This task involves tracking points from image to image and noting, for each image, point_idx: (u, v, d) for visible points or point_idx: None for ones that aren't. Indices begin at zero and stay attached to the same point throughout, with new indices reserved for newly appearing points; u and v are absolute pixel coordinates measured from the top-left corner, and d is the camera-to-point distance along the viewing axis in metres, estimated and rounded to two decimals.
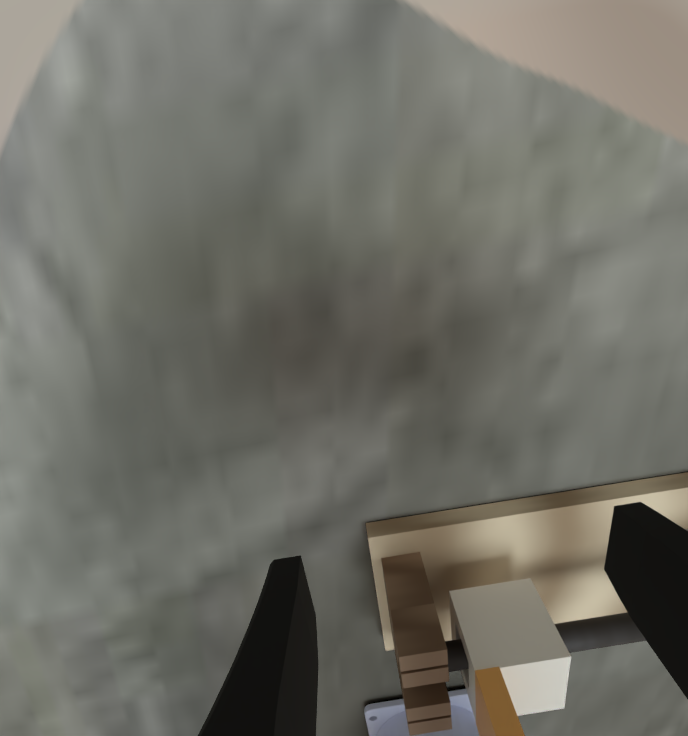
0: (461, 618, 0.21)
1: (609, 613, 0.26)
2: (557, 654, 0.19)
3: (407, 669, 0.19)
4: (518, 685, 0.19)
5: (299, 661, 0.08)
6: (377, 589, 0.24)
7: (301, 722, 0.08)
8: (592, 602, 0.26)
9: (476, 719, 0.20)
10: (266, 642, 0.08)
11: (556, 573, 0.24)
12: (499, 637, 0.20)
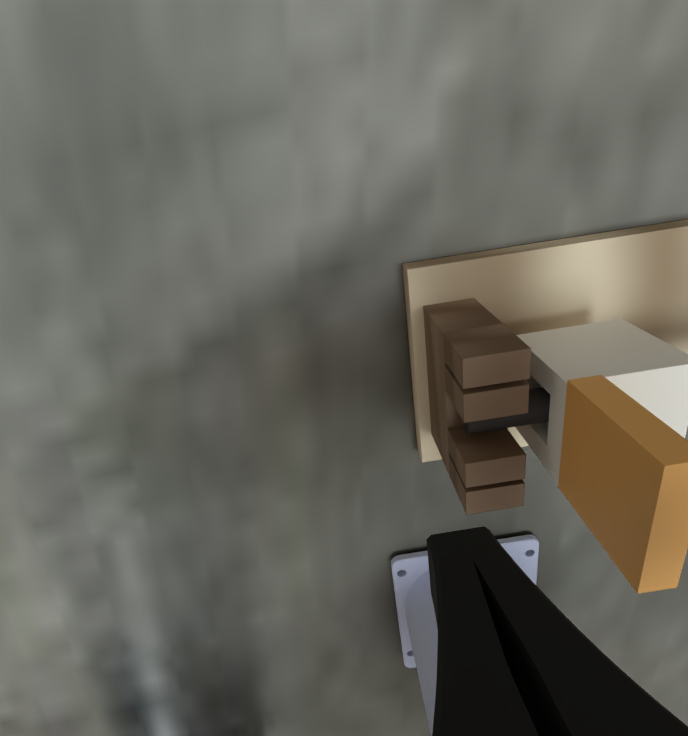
0: (536, 350, 0.15)
1: None
2: (681, 361, 0.13)
3: (472, 385, 0.14)
4: None
5: None
6: (416, 360, 0.19)
7: None
8: None
9: (560, 475, 0.15)
10: (466, 610, 0.08)
11: None
12: (593, 357, 0.14)
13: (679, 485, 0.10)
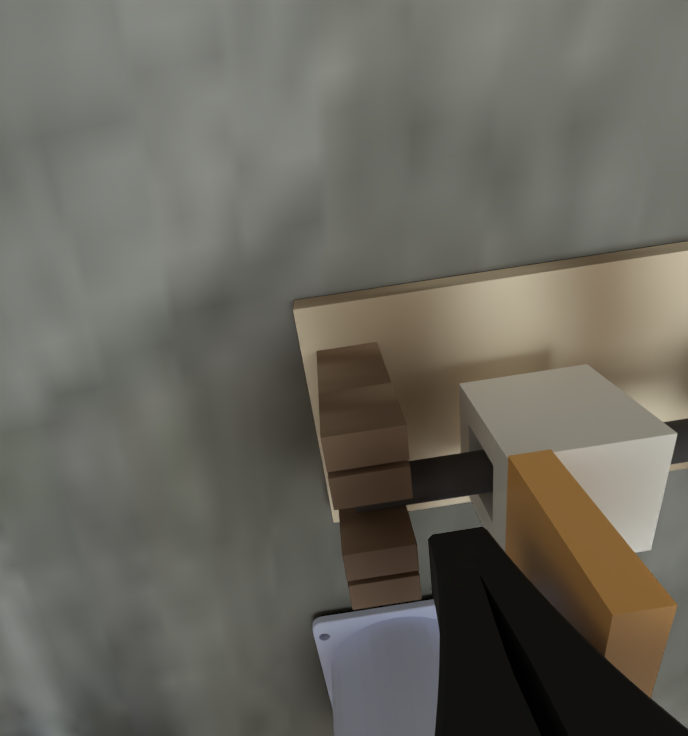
0: (480, 406, 0.13)
1: None
2: (652, 431, 0.11)
3: (338, 467, 0.11)
4: None
5: None
6: (314, 411, 0.16)
7: None
8: None
9: None
10: (468, 610, 0.08)
11: None
12: (546, 421, 0.12)
13: (634, 636, 0.07)
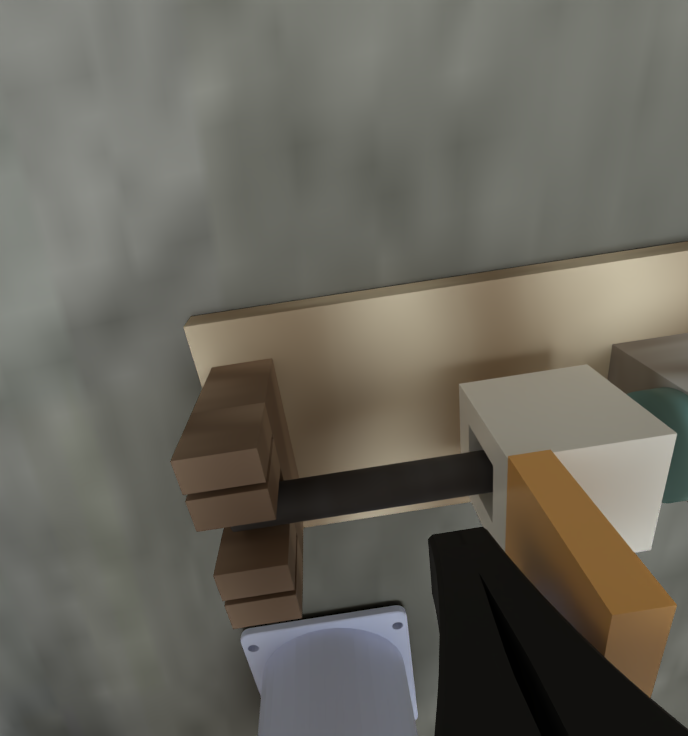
0: (480, 407, 0.13)
1: None
2: (651, 432, 0.11)
3: (193, 490, 0.11)
4: None
5: None
6: None
7: None
8: None
9: None
10: (468, 610, 0.08)
11: None
12: (546, 421, 0.12)
13: (634, 635, 0.07)
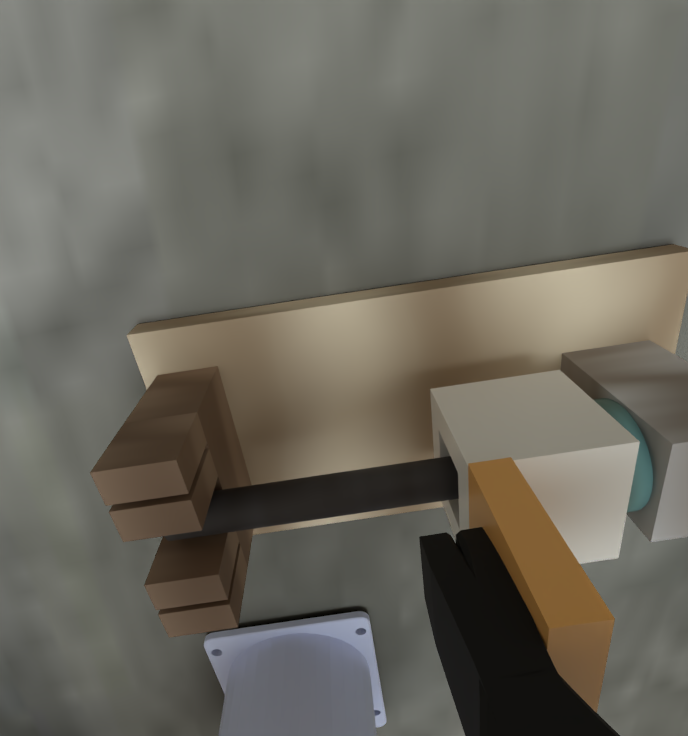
0: (447, 413, 0.13)
1: None
2: (614, 440, 0.11)
3: (116, 501, 0.11)
4: (543, 503, 0.11)
5: None
6: None
7: None
8: None
9: None
10: (504, 604, 0.08)
11: None
12: (511, 428, 0.12)
13: (573, 649, 0.07)
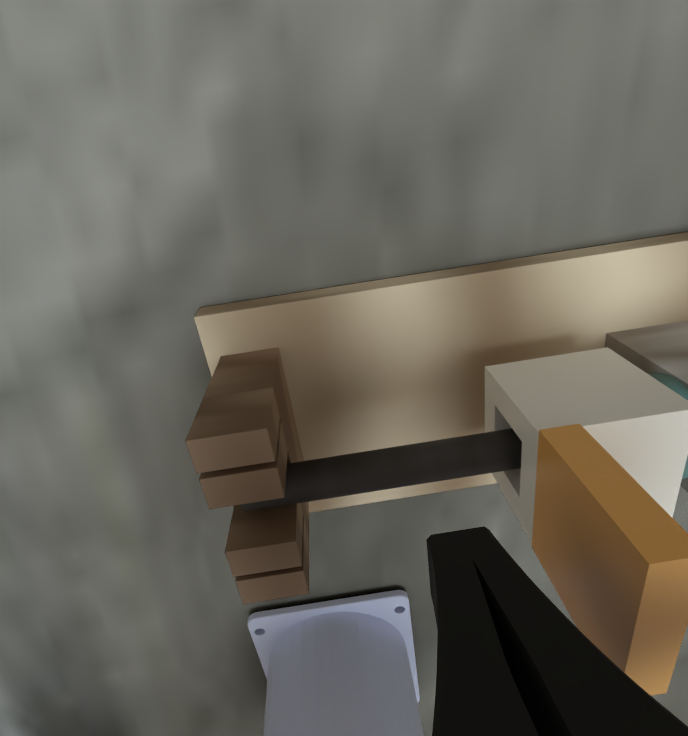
0: (507, 387, 0.13)
1: None
2: (674, 407, 0.11)
3: (207, 469, 0.11)
4: None
5: None
6: None
7: None
8: None
9: (534, 534, 0.13)
10: (466, 610, 0.08)
11: None
12: (572, 399, 0.12)
13: (668, 585, 0.08)
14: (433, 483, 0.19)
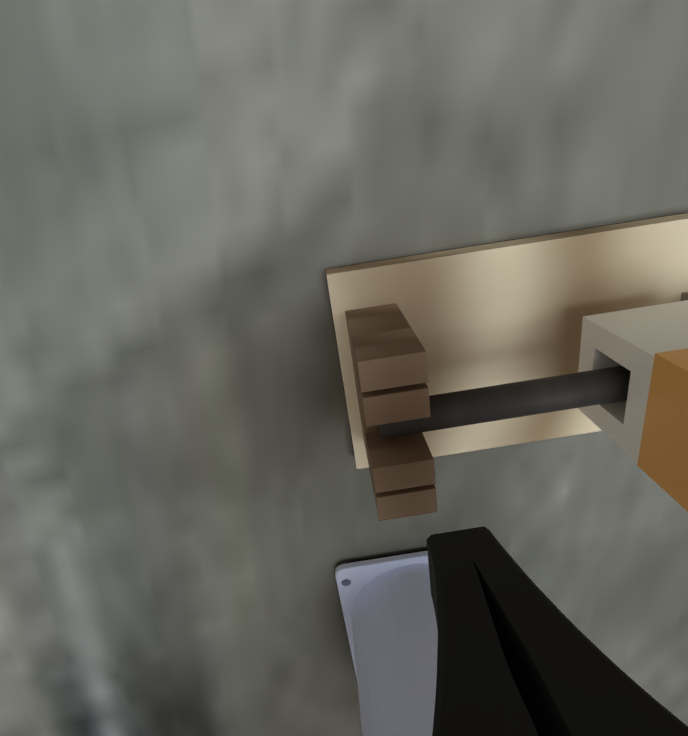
0: (611, 328, 0.15)
1: None
2: None
3: (370, 388, 0.13)
4: None
5: None
6: (342, 365, 0.19)
7: None
8: None
9: (641, 452, 0.14)
10: (466, 610, 0.08)
11: (573, 350, 0.19)
12: (674, 334, 0.14)
13: None
14: (519, 434, 0.21)
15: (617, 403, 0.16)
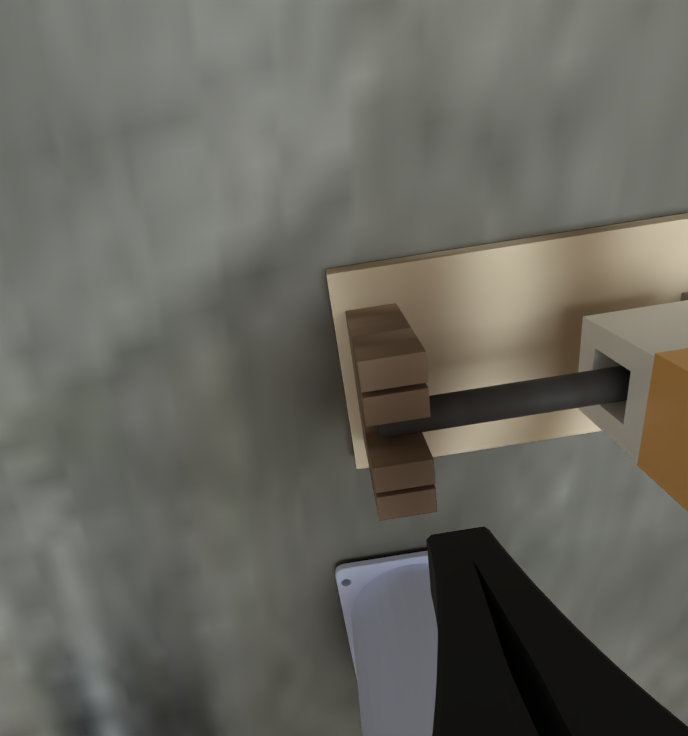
0: (611, 328, 0.15)
1: None
2: None
3: (370, 388, 0.13)
4: None
5: None
6: (342, 365, 0.19)
7: None
8: None
9: (641, 452, 0.14)
10: (466, 610, 0.08)
11: (573, 350, 0.19)
12: (674, 334, 0.14)
13: None
14: (519, 434, 0.21)
15: (617, 403, 0.16)
